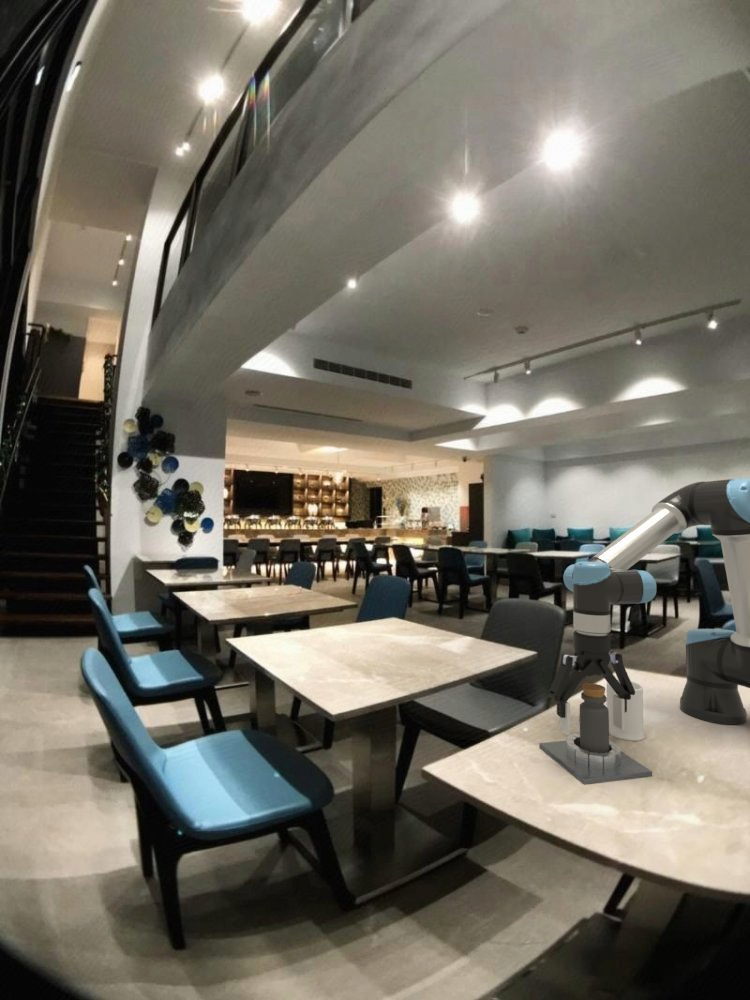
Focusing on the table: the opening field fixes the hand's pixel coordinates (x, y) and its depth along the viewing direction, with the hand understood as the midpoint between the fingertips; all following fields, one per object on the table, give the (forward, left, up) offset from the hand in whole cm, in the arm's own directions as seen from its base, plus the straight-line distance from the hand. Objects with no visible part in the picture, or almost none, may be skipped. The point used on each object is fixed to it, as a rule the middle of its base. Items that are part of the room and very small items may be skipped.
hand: (592, 729), depth 105 cm
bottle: (0, 0, -6) cm, 6 cm away
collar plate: (0, 0, -7) cm, 7 cm away
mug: (-16, -10, -7) cm, 20 cm away
